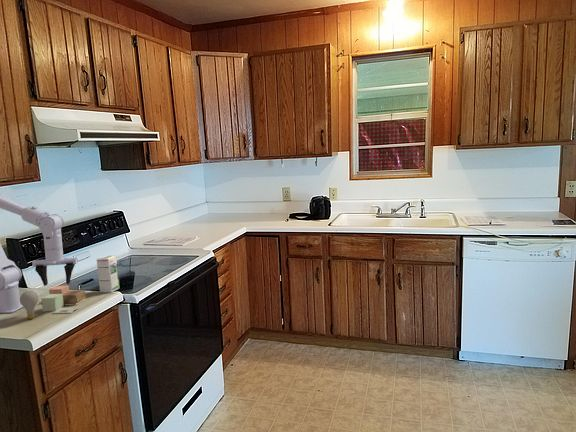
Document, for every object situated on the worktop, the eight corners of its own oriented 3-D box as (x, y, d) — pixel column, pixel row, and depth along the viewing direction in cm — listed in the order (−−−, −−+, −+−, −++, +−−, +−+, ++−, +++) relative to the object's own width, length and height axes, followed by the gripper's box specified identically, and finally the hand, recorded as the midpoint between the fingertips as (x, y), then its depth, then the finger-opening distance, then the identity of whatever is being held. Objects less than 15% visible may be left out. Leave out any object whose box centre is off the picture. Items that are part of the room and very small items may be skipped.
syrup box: (112, 292, 174) (109, 258, 172) (99, 292, 175) (96, 258, 173) (120, 288, 180) (117, 255, 178) (107, 288, 181) (104, 255, 179)
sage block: (42, 311, 154) (41, 298, 153) (51, 306, 159) (49, 294, 158) (56, 311, 153) (54, 298, 153) (63, 306, 158) (62, 293, 158)
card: (52, 313, 150) (52, 312, 150) (60, 309, 155) (60, 307, 155) (71, 313, 150) (71, 312, 150) (78, 308, 155) (78, 307, 155)
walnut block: (62, 305, 160) (61, 295, 159) (71, 300, 166) (70, 290, 165) (77, 305, 160) (76, 295, 159) (85, 300, 166) (84, 290, 165)
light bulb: (18, 321, 144) (14, 293, 143) (30, 315, 149) (27, 288, 148) (32, 321, 143) (29, 293, 142) (44, 316, 148) (41, 288, 147)
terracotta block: (50, 301, 165) (49, 289, 164) (57, 297, 170) (56, 285, 169) (62, 301, 164) (61, 289, 164) (69, 297, 169) (68, 285, 169)
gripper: (27, 251, 148) (31, 288, 149) (72, 248, 151) (75, 285, 152) (34, 247, 154) (38, 283, 156) (77, 245, 158) (80, 280, 159)
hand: (57, 284), depth 155 cm, fingers open, 7 cm apart
